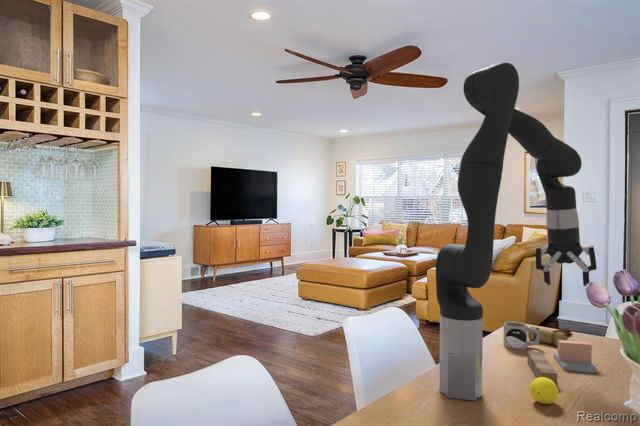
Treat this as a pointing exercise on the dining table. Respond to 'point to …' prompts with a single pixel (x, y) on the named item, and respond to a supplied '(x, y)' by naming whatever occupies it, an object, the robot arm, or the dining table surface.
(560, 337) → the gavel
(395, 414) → the dining table surface
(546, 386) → the lemon
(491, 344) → the dining table surface
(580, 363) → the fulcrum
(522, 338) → the mug
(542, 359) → the walnut bar
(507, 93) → the robot arm
